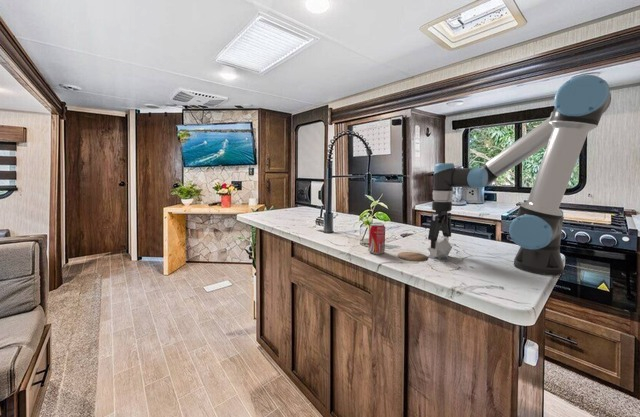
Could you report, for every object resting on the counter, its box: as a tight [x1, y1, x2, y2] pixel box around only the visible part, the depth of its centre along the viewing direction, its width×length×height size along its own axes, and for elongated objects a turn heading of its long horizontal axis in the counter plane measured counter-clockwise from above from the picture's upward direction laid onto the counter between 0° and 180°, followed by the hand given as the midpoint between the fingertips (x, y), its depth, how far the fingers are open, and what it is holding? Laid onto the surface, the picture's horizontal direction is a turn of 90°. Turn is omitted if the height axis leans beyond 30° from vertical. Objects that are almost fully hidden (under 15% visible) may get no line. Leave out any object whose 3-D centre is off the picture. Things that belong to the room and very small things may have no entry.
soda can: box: [368, 222, 386, 255], centre depth 131 cm, size 7×7×13 cm
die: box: [426, 237, 453, 258], centre depth 125 cm, size 8×9×10 cm
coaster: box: [397, 251, 428, 262], centre depth 125 cm, size 12×12×1 cm
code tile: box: [426, 254, 453, 262], centre depth 125 cm, size 8×8×1 cm
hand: (439, 253), depth 125 cm, fingers closed on die, 10 cm apart
